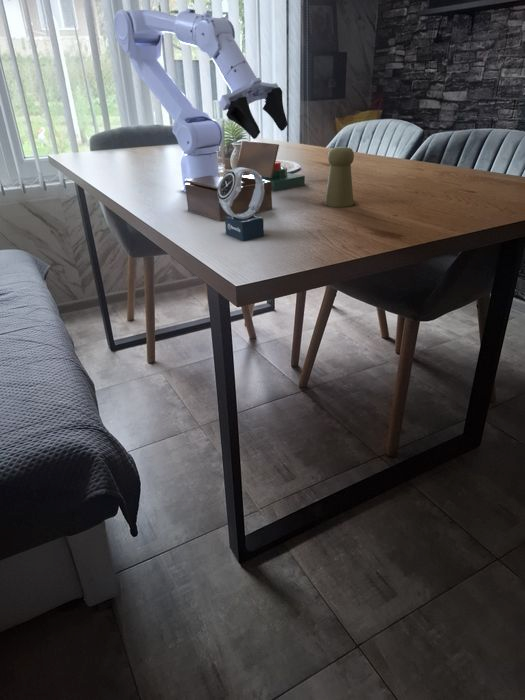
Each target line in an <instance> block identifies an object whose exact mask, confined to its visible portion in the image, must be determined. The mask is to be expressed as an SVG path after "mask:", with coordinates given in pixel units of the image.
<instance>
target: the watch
mask: <svg viewBox="0 0 525 700" xmlns="http://www.w3.org/2000/svg"><path fill="white" fill-rule="evenodd" d="M245 171H248V172H249V173H251V174H250V175H252V176H254V179H255V181H256V185H255V189H254V193H253V197H252V200H251V202H250V204H249V209H248V211H246V212H243V213H238V214H234V213H233V212H232V210H231V208H230V207H231V206H232V203H233V200H234V199H235V198H236V196H237V195H238V194H239V192H240V191H241V179H242V176H244V174H245V173H243V172H245ZM264 192H265V190H264V182H263V179H262V177H261V176H260V174H259V173H258V172H256V171H255V170H252V169H248V168H242V167H239V168H236V167H234V168H232V169H230V170H228V171H227V172H225V173H224V174H223V176H222V178H221V180H220V183H219V185H218V191H217V194H218V198H219V201H220V203H221V206H222V208H223V210H224V211H225V212H226V213H227V214H229V216H225V220H224V223H225V224H224V227H225V235H227V236H229V237H232V238H234V239H236V240H239V241H241V242H245V241H248V240H253V239H258V238H261V237H264V236H265V227H264V226H265V225H264V217H263V216H259V215H256V214H257V213H259V212H258V210H259V208H260V206H261V203H262V201H263V197H264ZM256 212H257V213H256Z"/></svg>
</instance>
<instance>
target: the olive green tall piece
mask: <svg viewBox="0 0 525 700" xmlns="http://www.w3.org/2000/svg"><path fill="white" fill-rule="evenodd" d="M354 159H355V153H354V151H353V149H352V148H350V147H347V146H336V147H333V148H330V149H329V150H328V152H327V162H328V164H329V165H330V166H329V172H328V178H327V185H326V191H325V198H324V205H325V206H327V207H333V208H344V207H351V206H353V205H354V190H353V179H352V164H353V162H354Z"/></svg>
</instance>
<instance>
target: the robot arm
mask: <svg viewBox="0 0 525 700" xmlns="http://www.w3.org/2000/svg"><path fill="white" fill-rule="evenodd" d="M113 28H114V36H115V40H116V42H117V44H119V46H120V47H121V48H122V49H123V51H124V52H125V53H126V55H127V56H128V58H129V60H130V63H131V64H132V67H133V68H134V71H135V72H136V73H137V75H138V76H139V77H140V78H141V80H142V81H143V83H144V84H145V85H146V86H147V88H148V89H149V90H150V91H151V93H152V94H153V95H154V97H155V98H156V99H157V101H158V102H159V103H160V104H161V106H162V107H163V108H164V110H165V111H166V112H167V114H168V115H169V116H170V117H171V119H172V120H173V125H172V134H173V135H174V136H175V138H176V141H177V144H178V146H179V148H180V150H182V152H183V155H182V157H181V159H180V172H181V179H182V188H180V189H179V191H180V192H185V193H186V189H185V184H187V183H188V182H185V180H186V179H192V178H198V177H204V176H210V175H212V176H217V177H220V171H219V157H218V152H219V151H220V147H221V145H222V143H223V141H224V131H223V127H222V125H221V124H220V123H219V121H218V120H216V119H213V118H212V117H211V116H210V115H209V113H206V112H204V111H202V110H200V109H198V108H196V107H194V106H193V104H192V103H191V101H190V100H189V99H188V97H187V96H186V95H185V94H184V93H183V91H182V90H181V89H180V88H179V86H178V85H177V84H176V82H175V81H174V80H173V78H172V77H171V76H170V75H169V73H168V72H167V71H166V70H165V68H164V67H163V66H162V65H161V63H160V62H159V59H160V57H161V55H162V42H163V35H165V33H167V34H173V35H175V37H176V39H177V40H178V41H179V42H180V43H181V44H185V45H190V46H192V47H197V48H198V49H199V50H200V51H201V52H203V53H205V54H207V56H208V57H209V59H212V61H213V63H214V64H215V66H216V68H217V70H218V71H219V73H220V75H221V76H222V78H223V80H224V82H225V83H226V86H227V87H228V89H229V90H230V92H228V93H226V94H222V95H221V97H220V98H219V101H218V104H219V105H220V108H221V109H222V111H227V112H226V113H225V114H226V117H227V119H228V120H230V121H231V122H234V123H235V124H236V125H238V126H239V127H241V128H242V129H243V130H244V131H245V132H246V133H247V134H248V135H249V136H250V137H251V138H252V139H253V140H255V139H257V138H258V136H259V135H260V134H261V130H260V128H259V125H258V123H257V122H256V119H255V117H254V116H253V114H252V111H251V109H250V106H249V105H250V104H252V103H254V102H256V101H261V100H264V103H265V104H263V106H262V110H263V111H264V112H265V113H266V114H268V116H270V118H271V119H272V120H273V122H274V124H275V125H276V127H277V128H278V130H280V131H281V132H283V131H285V129H286V128H287V127H288V125H289V123H288V119H287V117H286V112H285V108H284V102H283V90H282V88H281V87H280V86H279V85H278V83H277V82H275V83H268V82H265V81H264V82H263V81H262V79H261V78H260V77H257V76H256V74H255V73H254V71H253V68H252V67H251V66H250V64H249V62H248V61H247V60H248V59H246V57H245V55H244V54H243V52H242V50H241V48H240V47H239V44H238V43H237V41H236V40H235V39H236V32H235V31H236V30H235V27H234V25H233V23H232V22H231V21H230V20H229V19H228V18H226V17H224V16H222V17H212V16H211V13H208V12H203V13H202V14H200V13H196V10H195V8H186V7H185V10H183V11H180V12H179V13H177V15H174V14H170V13H167V12H164V11H161V10H153V9H128V10H125V9H118V10H117V11H116V13H115V16H114V20H113Z"/></svg>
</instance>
